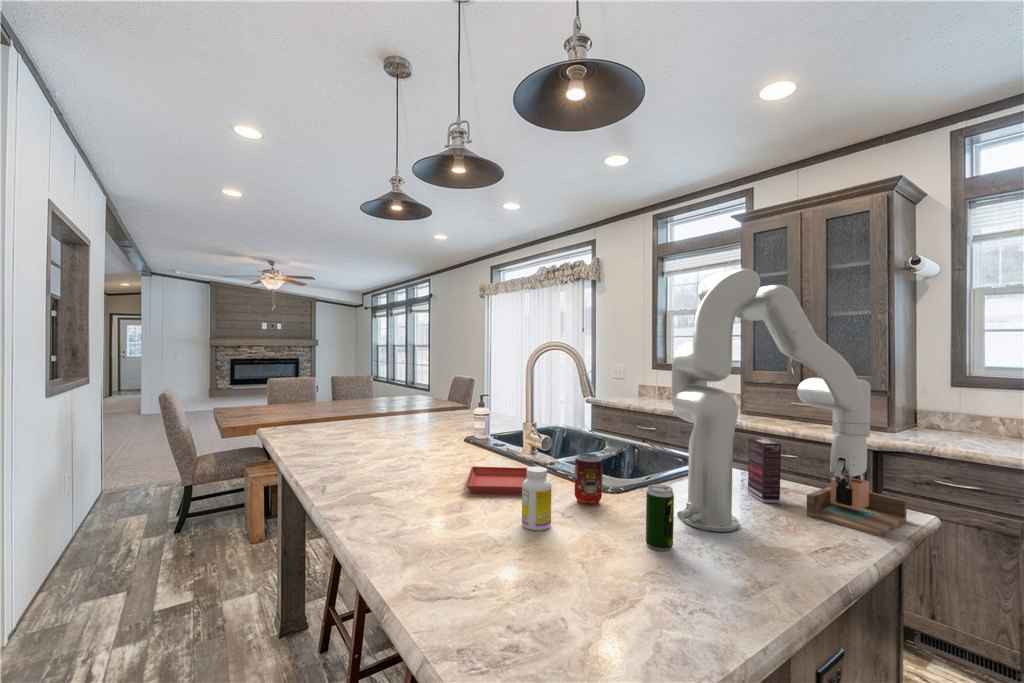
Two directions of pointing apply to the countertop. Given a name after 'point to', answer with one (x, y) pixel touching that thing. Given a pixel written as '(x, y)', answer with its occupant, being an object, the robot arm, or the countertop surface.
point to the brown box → (854, 493)
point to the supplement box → (764, 469)
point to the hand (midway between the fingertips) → (849, 500)
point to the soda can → (588, 479)
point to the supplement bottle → (536, 499)
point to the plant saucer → (496, 480)
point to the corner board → (859, 512)
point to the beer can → (659, 517)
